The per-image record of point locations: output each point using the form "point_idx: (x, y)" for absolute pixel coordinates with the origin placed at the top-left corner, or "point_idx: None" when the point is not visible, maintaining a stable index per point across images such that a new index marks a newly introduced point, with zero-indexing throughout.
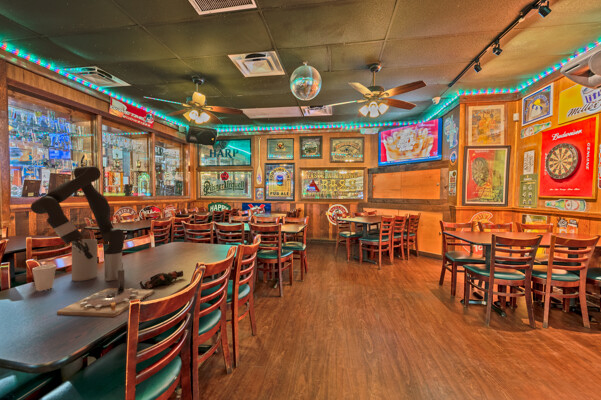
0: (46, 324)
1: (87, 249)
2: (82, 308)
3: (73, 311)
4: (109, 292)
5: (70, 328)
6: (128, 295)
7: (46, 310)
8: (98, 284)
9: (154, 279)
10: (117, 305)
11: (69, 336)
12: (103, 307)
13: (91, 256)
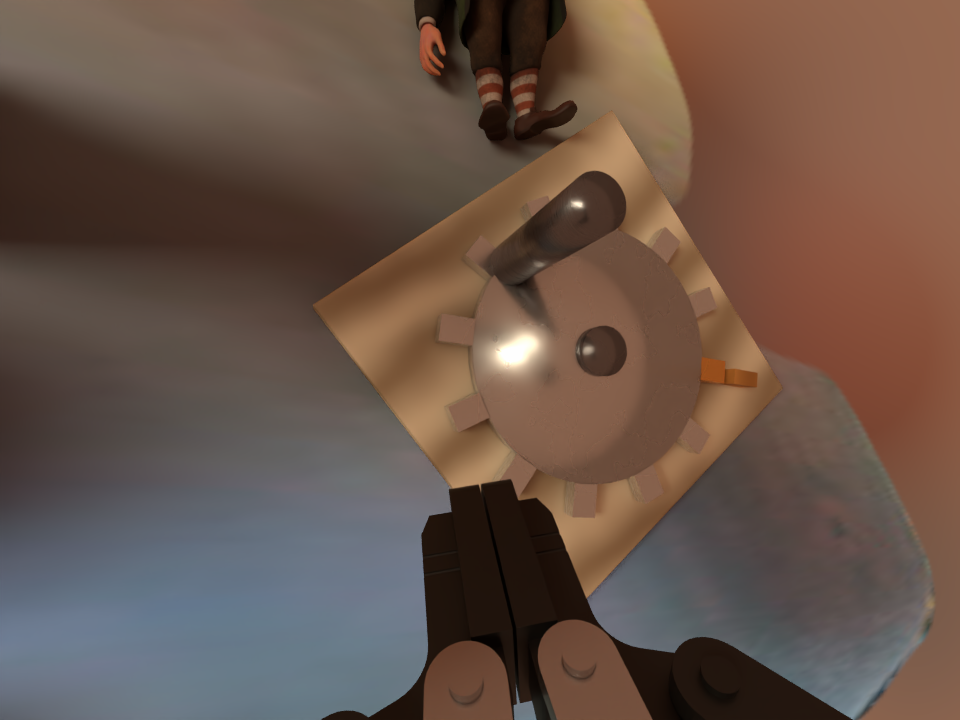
0: None
1: (755, 710)
2: (621, 504)
3: (631, 546)
4: (507, 337)
5: (759, 553)
6: (652, 269)
7: None
8: (5, 321)
9: (501, 11)
10: (704, 351)
11: (820, 556)
12: None
13: (542, 513)
